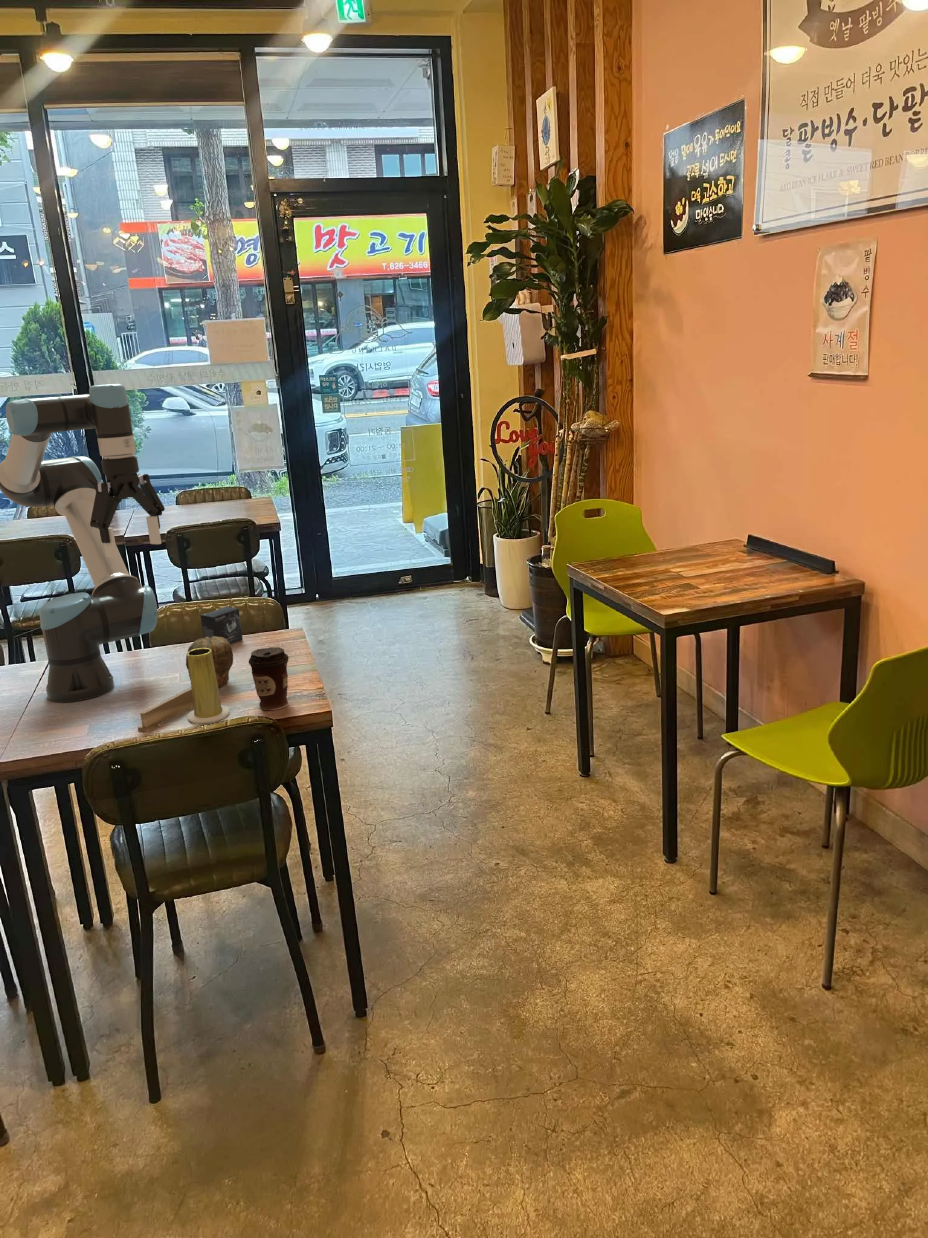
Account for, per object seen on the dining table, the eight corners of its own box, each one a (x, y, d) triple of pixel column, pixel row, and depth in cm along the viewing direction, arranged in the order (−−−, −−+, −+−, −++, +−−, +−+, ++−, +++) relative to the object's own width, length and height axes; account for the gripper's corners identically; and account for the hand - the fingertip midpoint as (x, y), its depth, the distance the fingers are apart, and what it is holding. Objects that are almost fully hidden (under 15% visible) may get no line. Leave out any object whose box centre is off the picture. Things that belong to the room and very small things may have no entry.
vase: (196, 720, 194) (186, 658, 190) (192, 711, 199) (182, 650, 195) (224, 714, 196) (215, 652, 192) (220, 705, 202) (211, 645, 197)
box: (218, 650, 243) (213, 617, 240) (204, 647, 246) (199, 614, 243) (243, 640, 250) (239, 607, 247) (229, 638, 253) (225, 605, 250)
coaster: (178, 720, 196) (178, 718, 196) (206, 705, 204) (206, 703, 203) (211, 725, 192) (210, 723, 192) (238, 710, 200) (237, 707, 200)
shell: (224, 693, 210) (217, 645, 207) (182, 692, 213) (174, 645, 209) (244, 677, 220) (238, 631, 217) (203, 676, 223) (196, 630, 219)
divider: (138, 730, 192) (135, 713, 191) (198, 698, 208) (195, 682, 207) (148, 732, 191) (145, 715, 189) (208, 700, 207) (205, 683, 206)
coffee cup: (273, 716, 195) (266, 659, 191) (246, 709, 200) (238, 654, 196) (300, 702, 202) (294, 647, 198) (273, 696, 207) (267, 643, 203)
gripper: (86, 463, 185) (104, 563, 192) (171, 449, 207) (185, 539, 213) (60, 463, 189) (79, 562, 195) (146, 449, 210) (160, 538, 216)
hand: (134, 550), depth 204 cm, fingers open, 13 cm apart
